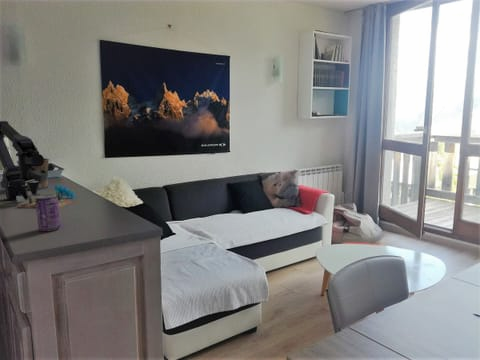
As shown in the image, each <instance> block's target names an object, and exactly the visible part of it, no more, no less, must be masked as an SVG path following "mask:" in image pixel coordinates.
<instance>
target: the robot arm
mask: <svg viewBox="0 0 480 360" xmlns="http://www.w3.org/2000/svg"><path fill="white" fill-rule="evenodd" d="M5 137H6V138H7V139H8V140H9V141H10V142H11V143H12V144H11V146H12V148H13V149H14V150H15V151H16V152H17V153H16V154H15V157H17V158H18V160H17V161H19V166H16V165H15V163H14V160H13V158H12V155H11V154H10V152H9V149H8V147H7V144H6V142H5V140H4V139H5ZM38 150H39V149H38V148H37V147H36V144H35V143H34V142H33V140H32V138H29V137H28V136H25V135H22V134H21V133H19V132H18V131H17V130H16V129H15V128H14V127H12V126H11V124H10V123H9V122H8V121H6V120H0V163H1V166H2V168H3V171H2V179H1V181H0V187H1V189H5V190H4V191H5V197H6V198H4V199H3V200H4V201H17V198H16V196H18V195H22V196H23V197H24V199H25V200H27V199H28V195H29V194H28V190H27V188H28V187H30V190H29V191H30V192H31V195H35V194H38V186H39V185H40V184H41V183H42V182H41V181H44V180H47V179H46V177H47V176H48V177H49V174H48V175H47V170H41V172H40V171H37V170H36V167H33V166H41V165H43V163H44V156H43V155H42V154H40V151H38ZM28 182H29V183H28ZM27 183H28V184H29V185H27Z"/></svg>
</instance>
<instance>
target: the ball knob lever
mask: <svg viewBox="0 0 480 360" xmlns="http://www.w3.org/2000/svg"><path fill="white" fill-rule="evenodd" d="M38 194H39V193H37V194H35V195H32V194H28V199H27V200H25V199H24V197H23V196H22V195H18V196H16V198H17V200H16V203H23V202H27V201H29V197H30V196H32V200H33V199H37V198H36V197H37V196H38ZM40 194H41V193H40ZM47 194H48V193H46V194H45V193H43V194H41V195H47Z"/></svg>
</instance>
